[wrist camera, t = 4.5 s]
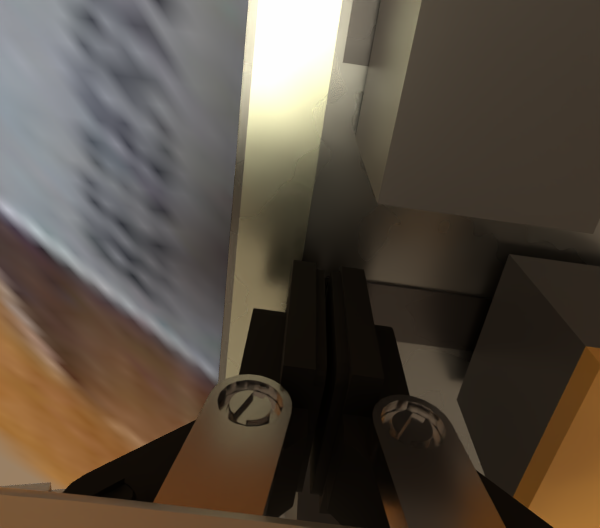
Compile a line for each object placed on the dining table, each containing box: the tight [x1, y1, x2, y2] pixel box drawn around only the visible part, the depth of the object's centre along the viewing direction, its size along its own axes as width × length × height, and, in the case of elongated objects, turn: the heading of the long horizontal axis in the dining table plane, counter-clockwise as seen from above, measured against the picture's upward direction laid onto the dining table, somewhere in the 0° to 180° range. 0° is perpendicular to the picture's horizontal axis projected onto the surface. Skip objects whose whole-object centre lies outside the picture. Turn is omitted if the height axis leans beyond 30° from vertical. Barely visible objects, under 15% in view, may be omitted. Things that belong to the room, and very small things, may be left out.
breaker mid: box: [457, 254, 600, 528], centre depth 11 cm, size 3×4×4 cm
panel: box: [218, 0, 600, 518], centre depth 13 cm, size 16×17×2 cm
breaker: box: [355, 0, 600, 234], centre depth 8 cm, size 3×4×4 cm
